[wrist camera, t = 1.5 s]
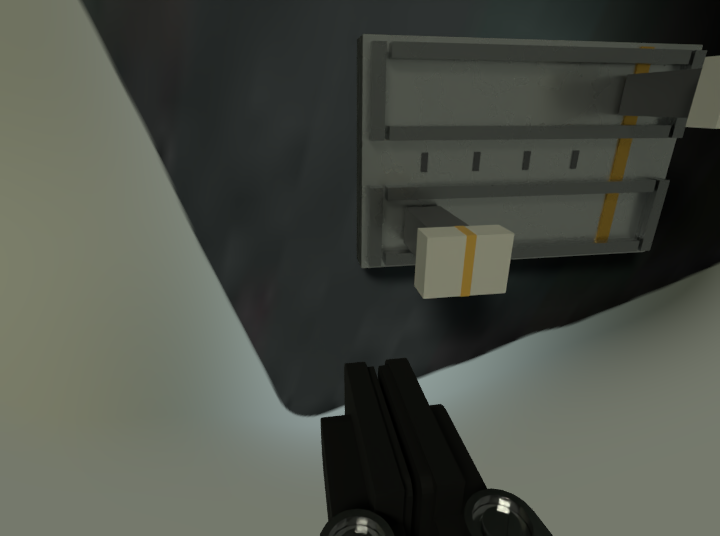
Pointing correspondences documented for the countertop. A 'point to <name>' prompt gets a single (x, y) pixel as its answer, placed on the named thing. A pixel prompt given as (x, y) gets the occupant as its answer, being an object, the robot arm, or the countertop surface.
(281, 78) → the countertop surface
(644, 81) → the white striped slider handle
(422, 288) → the fader knob
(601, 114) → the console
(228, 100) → the countertop surface
